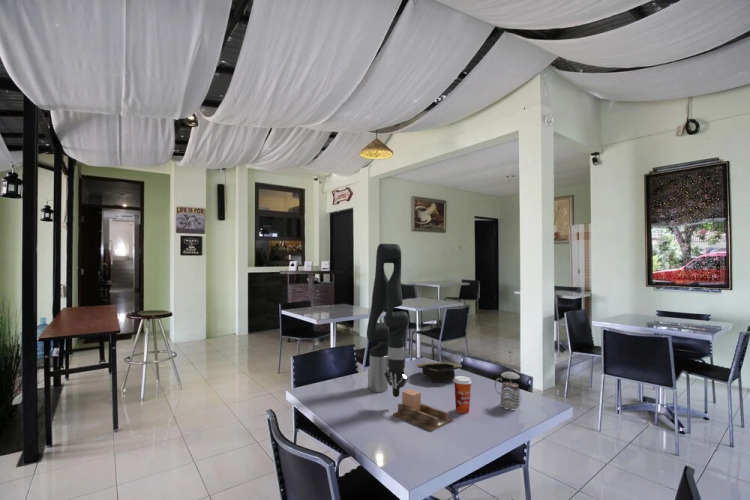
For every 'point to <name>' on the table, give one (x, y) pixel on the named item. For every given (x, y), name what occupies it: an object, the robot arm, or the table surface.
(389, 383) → the robot arm
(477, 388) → the table surface
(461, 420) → the table surface
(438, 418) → the chute
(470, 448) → the table surface
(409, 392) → the block
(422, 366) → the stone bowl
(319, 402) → the table surface
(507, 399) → the french press
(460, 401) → the paper cup
